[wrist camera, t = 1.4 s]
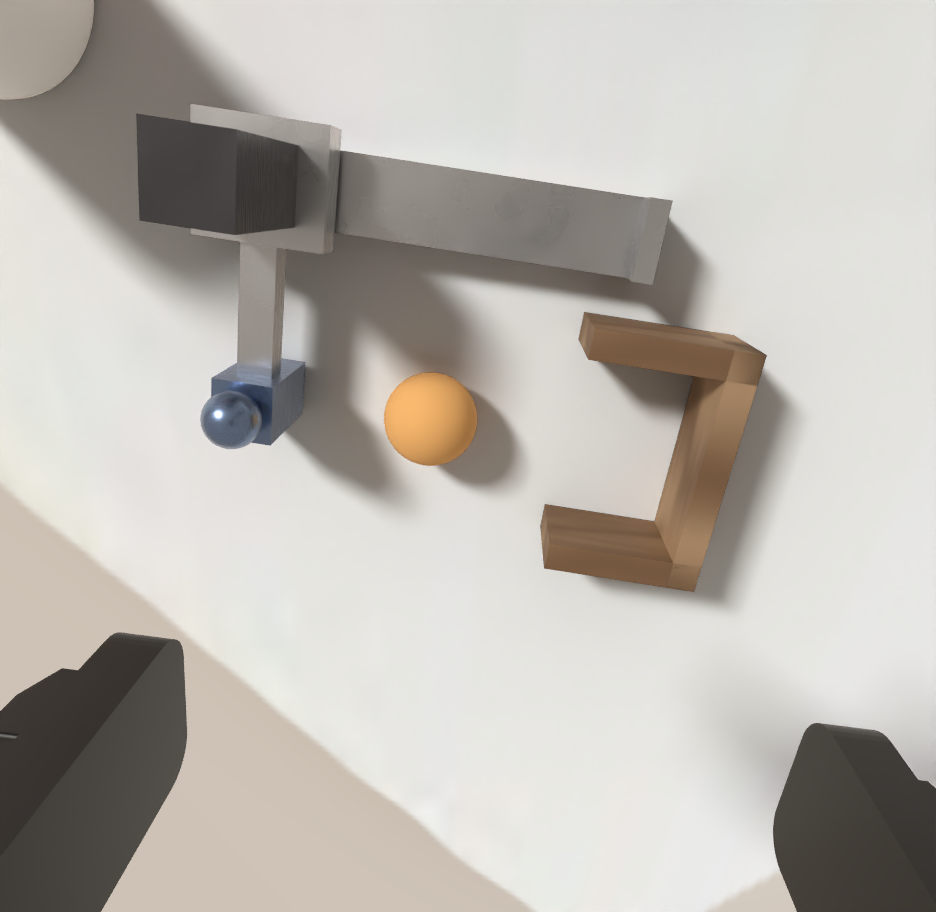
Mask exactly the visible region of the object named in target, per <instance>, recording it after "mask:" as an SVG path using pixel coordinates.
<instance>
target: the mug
mask: <svg viewBox="0 0 936 912" xmlns="http://www.w3.org/2000/svg"><path fill="white" fill-rule="evenodd" d="M93 16H94V0H0V99H6V100H11V99H22V98H29V97H33V96H36V95H40V94H42V93H44V92H46V91H48V90H50V89H52V88H53V87H55V86H56V85H58V84H59V83H61V82H62V81H63V80H64V79H65V78H66V77H67V76H68V75H69V74H70V73H71V72H72V70H73V69H74V68H75V67H76V65H77V64H78V62H79V61H80V59H81V57H82V55H83V53H84V51H85V49H86V46H87V43H88V41H89V38H90V33H91V29H92V25H93Z"/></svg>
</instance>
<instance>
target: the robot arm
mask: <svg viewBox="0 0 936 912" xmlns="http://www.w3.org/2000/svg"><path fill="white" fill-rule="evenodd" d="M184 679H185V677H184V656H183V649H182V645H181V643H180V642H179V641H178V640H175V639H167V638H159V637H151V636H144V635H136V634H128V633H115V634H113V635H112V636H110V637H109V638H108V639H107V640H106V641H105V642H104V643H103V644H102V645H101V646H100V647H99V648H98V649H97V651H96V652H95V653H94V654H93V655H92V656H91V657H90V658H89V659H88V660H87V661H86V662H85V664H84V665H83V666H82V667H81V668H80V669H79V670H70V669H60V670H59V671H57V672H55V673H53V674H52V675H50V676H48V677H47V678H45V679H43V680H41V681H40V682H38V683H36V684H35V685H33V686H31V687H29V688H28V689H26V690H24V691H23V692H21V693H19V694H18V695H16V696H15V697H14V698H13V699H12V700H11V701H10V702H9V703H8V704H7V705H6V706H5V707H4V708H3V709H2V710H1V711H0V912H101V911H102V909H103V907H104V905H105V904H106V902H107V900H108V898H109V897H110V895H111V893H112V892H113V890H114V888H115V886H116V884H117V883H118V881H119V879H120V878H121V876H122V874H123V872H124V871H125V869H126V867H127V865H128V864H129V862H130V860H131V858H132V857H133V855H134V853H135V852H136V849H137V848H138V846H139V844H140V843H141V841H142V839H143V837H144V836H145V834H146V832H147V831H148V829H149V827H150V825H151V824H152V822H153V820H154V819H155V817H156V815H157V813H158V812H159V810H160V808H161V806H162V804H163V803H164V801H165V799H166V798H167V796H168V794H169V792H170V791H171V789H172V787H173V785H174V783H175V781H176V779H177V776H178V773H179V771H180V768H181V765H182V761H183V758H184V753H185V748H186V741H187V722H186V700H185V680H184ZM773 838H774V848H775V854H776V858H777V862H778V866H779V868H780V871H781V874H782V876H783V878H784V881H785V883H786V886H787V888H788V890H789V893H790V896H791V898H792V900H793V903H794V905H795V908H796V910H797V912H936V788H935V787H934V786H932V785H931V784H930V783H929V782H928V781H921V780H918V779H917V778H916V776H915V775H914V774H913V772H912V771H911V769H910V768H909V767H908V765H907V764H906V762H905V761H904V760H903V758H902V757H901V755H900V754H899V753H898V751H897V750H896V748H895V747H894V746H893V744H892V743H891V742H890V740H889V739H888V738H887V737H886V736H885V735H884V734H882V733H880V732H879V731H875V730H868V729H860V728H852V727H844V726H836V725H828V724H820V723H814V724H812V725H810V726H809V727H808V728H807V729H806V731H805V733H804V735H803V737H802V740H801V743H800V745H799V748H798V751H797V754H796V756H795V759H794V762H793V765H792V768H791V770H790V773H789V776H788V779H787V781H786V784H785V787H784V790H783V792H782V795H781V798H780V801H779V804H778V806H777V809H776V813H775V817H774V825H773Z"/></svg>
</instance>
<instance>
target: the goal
mask: <svg viewBox="0 0 936 912" xmlns="http://www.w3.org/2000/svg"><path fill="white" fill-rule="evenodd" d="M579 341H580V343H581V345H582V347H583V350H584V352H585V354H586V356H587V358H588V360H594V361H600V362H607V363H613V364H619V365H626V366H632V367H639V368H645V369H651V370H658V371H664V372H671V373H677V374H683V375H690V376H694V378H693V382H692V385H691V389H690V393H689V397H688V400H687V404H686V408H685V411H684V415H683V419H682V422H681V426H680V430H679V433H678V437H677V441H676V444H675V448H674V452H673V455H672V459H671V463H670V466H669V470H668V474H667V477H666V481H665V485H664V489H663V492H662V496H661V500H660V503H659V507H658V511H657V514H656V518H655V521H648V520H642V519H636V518H629V517H623V516H617V515H610V514H604V513H597V512H591V511H585V510H578V509H572V508H566V507H559V506H553V505H547V504H545V506H544V511H543V516H542V521H541V526H540V528H541V539H542V550H543V561H544V568H545V569H552V570H558V571H565V572H571V573H577V574H584V575H590V576H596V577H603V578H609V579H615V580H622V581H628V582H634V583H641V584H647V585H653V586H660V587H666V588H672V589H679V590H685V591H691V592H694V590H695V587H696V583H697V580H698V577H699V574H700V570H701V567H702V564H703V561H704V557H705V554H706V551H707V548H708V544H709V541H710V538H711V535H712V531H713V528H714V525H715V522H716V518H717V515H718V512H719V509H720V505H721V502H722V499H723V496H724V492H725V489H726V486H727V483H728V479H729V476H730V473H731V470H732V466H733V463H734V460H735V457H736V453H737V450H738V447H739V444H740V440H741V437H742V434H743V431H744V427H745V424H746V421H747V418H748V414H749V411H750V408H751V405H752V402H753V398H754V395H755V392H756V389H757V385H758V382H759V379H760V376H761V372H762V369H763V366H764V363H765V359H766V356H767V355H765V354H764V353H762V352H761V351H759V350H757V349H756V348H754V347H752V346H751V345H749V344H747V343H746V342H744V341H742V340H741V339H739V338H737V337H736V336H734V335H728V334H722V333H715V332H709V331H702V330H696V329H690V328H683V327H677V326H670V325H664V324H657V323H651V322H645V321H638V320H632V319H625V318H619V317H613V316H606V315H600V314H593V313H587V312H584V316H583V321H582V326H581V331H580V335H579Z"/></svg>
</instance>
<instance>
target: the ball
mask: <svg viewBox="0 0 936 912" xmlns="http://www.w3.org/2000/svg"><path fill="white" fill-rule="evenodd" d="M384 424H385V430H386V434H387V436H388V439H389V440H390V442H391V444H392V445H393V447H394V448H395V449H396V450H397V452H398V453H400V454H401V455H402V456H403V457H405V458H406V459H408V460H410V461H412V462H414V463H417V464H421V465H428V466H433V465H441V464H444V463H447V462H450V461H452V460H454V459H456V458H457V457H458V456H460V455H461V454H462V453H463V452H464V451H465V450H466V449H467V448H468V446H469V445H470V443H471V442H472V440H473V437H474V435H475V432H476V428H477V411H476V406H475V403H474V401H473V399H472V397H471V395H470V393H469V392H468V390H467V389H466V388H465V387H464V386H463V385H462V384H461V383H460V382H458V381H457V380H455V379H454V378H452V377H450V376H447V375H445V374H441V373H434V372H427V373H420V374H417V375H414V376H412V377H409V378H407V379H406V380H404V381H403V382H402V383H401V384H399V385H398V386H397V387H396V389H395V390H394V391H393V392H392V394H391V395H390V397H389V399H388V402H387V404H386V408H385V413H384Z"/></svg>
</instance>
